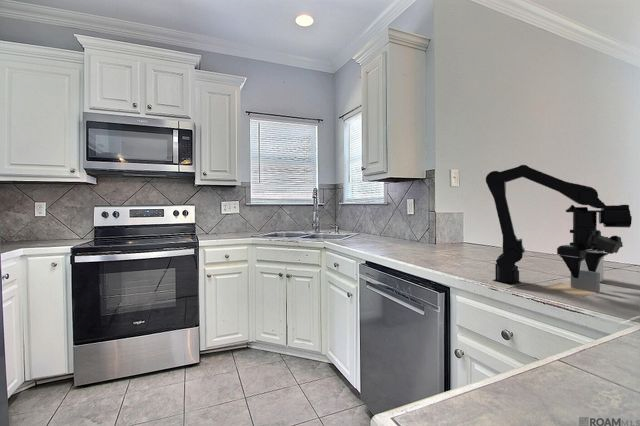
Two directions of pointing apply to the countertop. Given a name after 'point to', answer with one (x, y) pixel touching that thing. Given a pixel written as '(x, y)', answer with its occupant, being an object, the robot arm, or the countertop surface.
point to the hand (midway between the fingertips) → (584, 276)
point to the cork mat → (569, 289)
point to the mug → (599, 268)
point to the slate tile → (586, 281)
